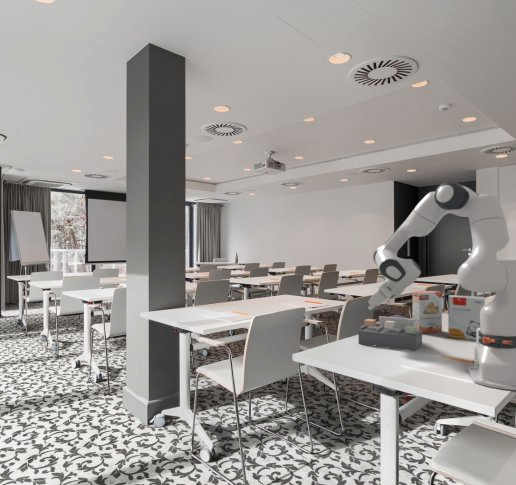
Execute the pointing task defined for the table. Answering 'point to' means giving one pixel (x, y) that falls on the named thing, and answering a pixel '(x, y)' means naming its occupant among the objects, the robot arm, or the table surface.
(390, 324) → the cream key
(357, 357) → the table surface
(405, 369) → the table surface
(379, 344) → the key console
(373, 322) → the terracotta key
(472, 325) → the hard drive box
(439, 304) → the cracker box
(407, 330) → the sage key
